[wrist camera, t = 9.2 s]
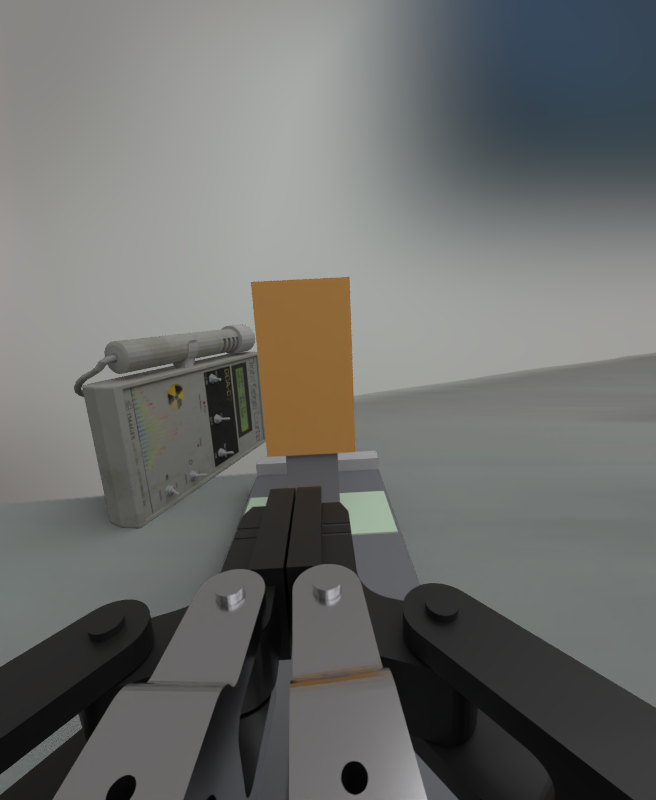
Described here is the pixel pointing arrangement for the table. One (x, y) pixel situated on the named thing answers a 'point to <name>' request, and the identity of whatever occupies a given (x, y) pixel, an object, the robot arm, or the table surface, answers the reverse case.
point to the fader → (306, 377)
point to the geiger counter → (172, 417)
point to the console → (377, 569)
